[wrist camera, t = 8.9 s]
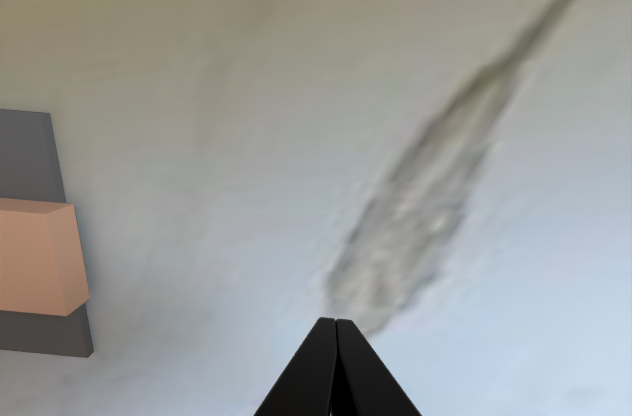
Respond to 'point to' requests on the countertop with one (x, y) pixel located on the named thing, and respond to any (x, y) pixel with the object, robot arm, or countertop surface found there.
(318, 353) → the robot arm
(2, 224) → the tile
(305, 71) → the countertop surface
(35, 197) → the mat
